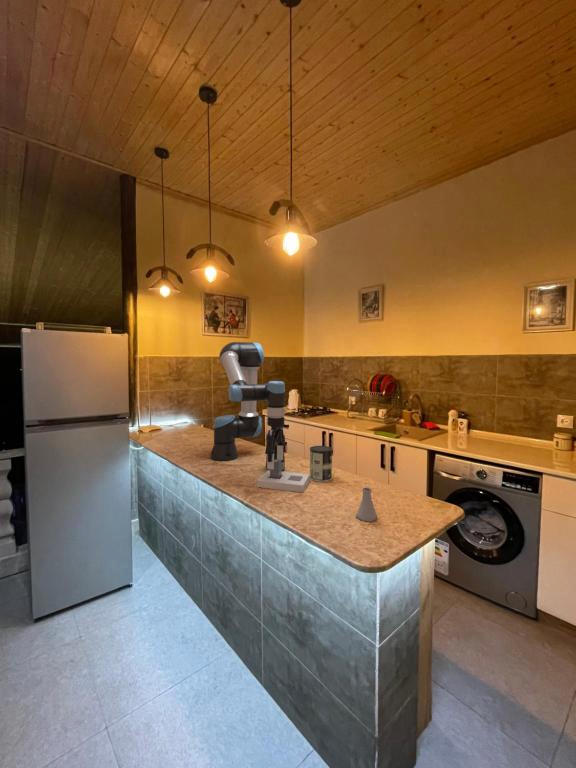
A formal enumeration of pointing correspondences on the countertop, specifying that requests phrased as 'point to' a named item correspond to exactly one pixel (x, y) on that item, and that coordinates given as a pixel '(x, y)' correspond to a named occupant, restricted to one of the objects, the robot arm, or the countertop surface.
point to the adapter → (276, 470)
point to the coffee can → (321, 463)
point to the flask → (366, 507)
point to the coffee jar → (276, 454)
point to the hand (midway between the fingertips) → (275, 464)
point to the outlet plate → (285, 481)
